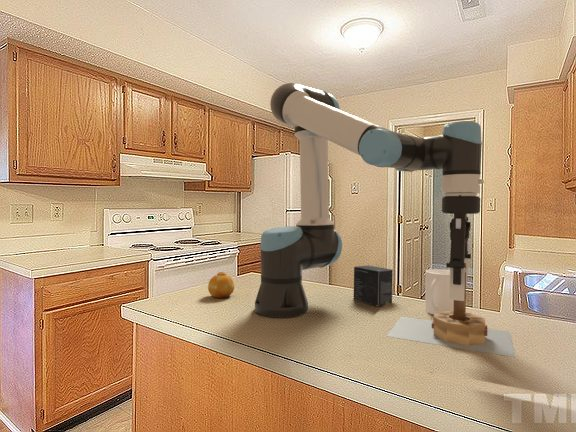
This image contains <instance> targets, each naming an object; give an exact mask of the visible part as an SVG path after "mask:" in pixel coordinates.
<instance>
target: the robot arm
mask: <svg viewBox="0 0 576 432" xmlns="http://www.w3.org/2000/svg"><path fill="white" fill-rule="evenodd" d="M269 104H270V111H271V113H272V115H273V117H274V119H276V120H277V121H279V122H280V123H283V124H285V125H287V126H290V127H293V128H294V136H295V137H296V138H297V139H298V142H299V168H300V169H299V175H300V176H299V178H300V183H299V184H300V185H299V186H300V219H299V221H297V223H295V225H289V226H288V225H287V226H279V227H277V226H276V227H273V228H269V229H266V230H264V231H263V232H262V234H261V236H260V246H259V249H260V285H259V289H258V291H257V294H256V297H255V301H254V312H255V313H256V314H258V315H261V316H263V317H269V318H279V319H280V318H292V317H293V318H294V317H300V316H302V315H304V314H307V312H308V311H309V301H308V297H307V294H306V291H305V288H304V285H303V271H305V270H310V269H311V270H312V269H317V268H325V267H327V266H328V267H329V266H331V265H333V264H334V263H336V261H338V259H339V258H340V256H341V255H342V249H343V242H342V241H343V240H342V237H341V235H340V234H339V232H338V231H337V230H336V229H335V223H334V222H333V220H331V219H330V204H329V202H330V200H329V199H330V193H329V191H330V190H329V142H331V143H334V144H336V145H337V146H339V147H342V148H344V149H346V150H347V151H349V152H352V153H354V154H356V155H358V156H360V157H361V159H362V161H363V162H364V163H366V164H368V165H370V166H374V167H377V168H389V169H391V168H393V169H395V170H396V171H398V172H409V173H413V172H416V171H417V172H418V171H428V170H441V169H442V175H441V194H443V195H444V196H442V198H441V213H443V214H453V218H451V220H450V222H449V231H450V233H449V237H450V251H449V252H450V254H449V262H446V264H445V265H446V268H449V270H450V295H449V300H458V301H464V292H465V268H464V267H465V263H466V288H468V265H469V260H470V259H472V258H471V257H472V253H469V251H468V249H469V248H468V245H469V244H468V241H469V239H470V231H471V226H472V225H471V223H472V222H470V221H469V217H468V216H467V215H477V214H480V212H481V197H480V196H478V194H480V193H481V184H485V181H484V179H482V178H481V174H482V171H481V166H482V147H483V141H482V128H481V124H480V123H479V122H475V121H471V120H462V121H461V120H459V121H454V122H450V123H446V124H444V125H443V129H442V134H438V135H434V136H424V137H419V136H413V135H409V134H404V133H399V132H396V131H393V130H390V129H388V128H385V127H384V126H380V125H377V124H375V123H372V122H369V121H367V120H365V119H363V118H360V117H358V116H355V115H352V114H351V113H350V114H349V113H348V112H345V111H343V110H341V107H340V105H339V102H338V100H337V99H336V97H335V96H334V95H332V94H330V93H328V92H326V91H325V90H322V89H316V88H312V87H308V86H305V85H302V84H299V83H295V82H287V83H284V84H281V85H280V86H278V87H277V88H276V89H275V90H274V92H273V93H272V95H271V98H270V103H269ZM468 259H469V260H468Z"/></svg>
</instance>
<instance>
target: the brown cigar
mask: <svg viewBox="0 0 576 432" xmlns="http://www.w3.org/2000/svg"><path fill="white" fill-rule="evenodd" d="M464 268H465V292H464V301H458V300H454V310H453V320H459V321H465V320H466V313H467V312H466V311H467V309H466V308H467V304H466V303H467V297H466V296H467V287H466V263H465V267H464Z"/></svg>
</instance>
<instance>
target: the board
mask: <svg viewBox="0 0 576 432" xmlns="http://www.w3.org/2000/svg"><path fill="white" fill-rule="evenodd" d="M432 322H433V320H432V319H431V320H430V319H421V318H415V317H407V316H400V318H399V319H398V320H397V321H396V322H395V324H394V326H393V327H392V328H391V329H390V331H389V332H388V333H387V335H386V337H387V338H395V339H401V340H406V341H413V342H418V343H425V344H431V345H437V346H442V347H449V348H454V349H455V348H456V349H460V350H462V349H463V350H466V351H474V352H479V353H486V354H493V355H497V356H498V355H499V356H505V357H510V358H516V355H515V351H514V350H515V349H514V345H513V339H512V334H511V331H509V330H503V329H495V328H488V327H487V336H485V343H481V344H474V345H464V344H458V343H451V342H446V341H444V340H442V339H440V338H438V337H436V336H434V329H433V328H432Z"/></svg>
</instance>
